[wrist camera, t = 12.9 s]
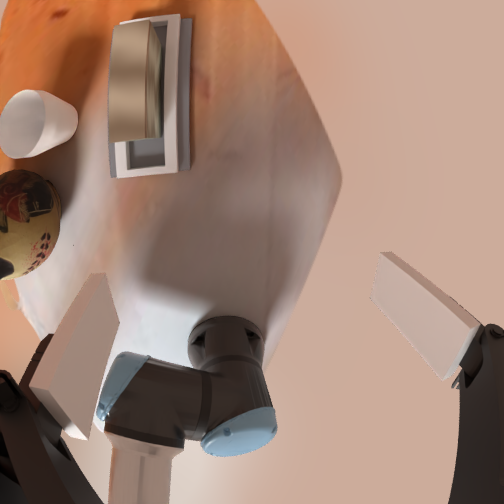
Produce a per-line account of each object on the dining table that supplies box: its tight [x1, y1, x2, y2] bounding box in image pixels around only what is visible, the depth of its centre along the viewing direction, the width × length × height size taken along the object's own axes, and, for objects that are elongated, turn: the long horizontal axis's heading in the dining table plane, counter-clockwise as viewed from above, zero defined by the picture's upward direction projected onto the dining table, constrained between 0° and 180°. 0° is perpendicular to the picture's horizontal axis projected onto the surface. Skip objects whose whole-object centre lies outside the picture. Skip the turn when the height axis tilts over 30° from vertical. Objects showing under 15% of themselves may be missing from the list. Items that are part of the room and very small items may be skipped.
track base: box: [108, 14, 192, 179], centre depth 31 cm, size 24×12×4 cm, turn 0°
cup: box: [0, 90, 78, 159], centre depth 26 cm, size 9×9×12 cm
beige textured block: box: [109, 19, 163, 143], centre depth 26 cm, size 14×4×11 cm, turn 0°
